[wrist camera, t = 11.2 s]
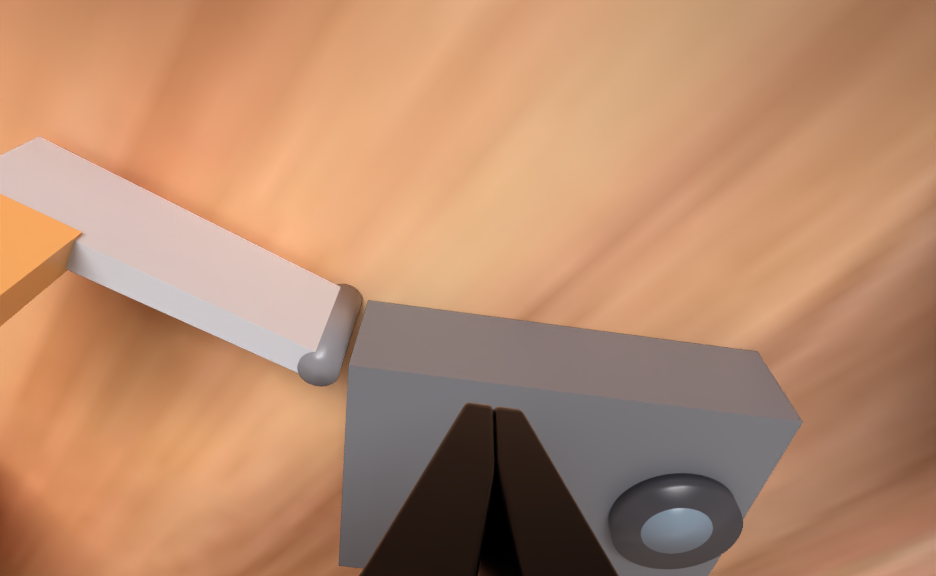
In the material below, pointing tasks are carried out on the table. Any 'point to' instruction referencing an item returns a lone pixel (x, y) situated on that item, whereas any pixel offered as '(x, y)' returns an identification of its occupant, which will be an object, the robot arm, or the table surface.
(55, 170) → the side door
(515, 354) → the box with round button
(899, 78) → the table surface
